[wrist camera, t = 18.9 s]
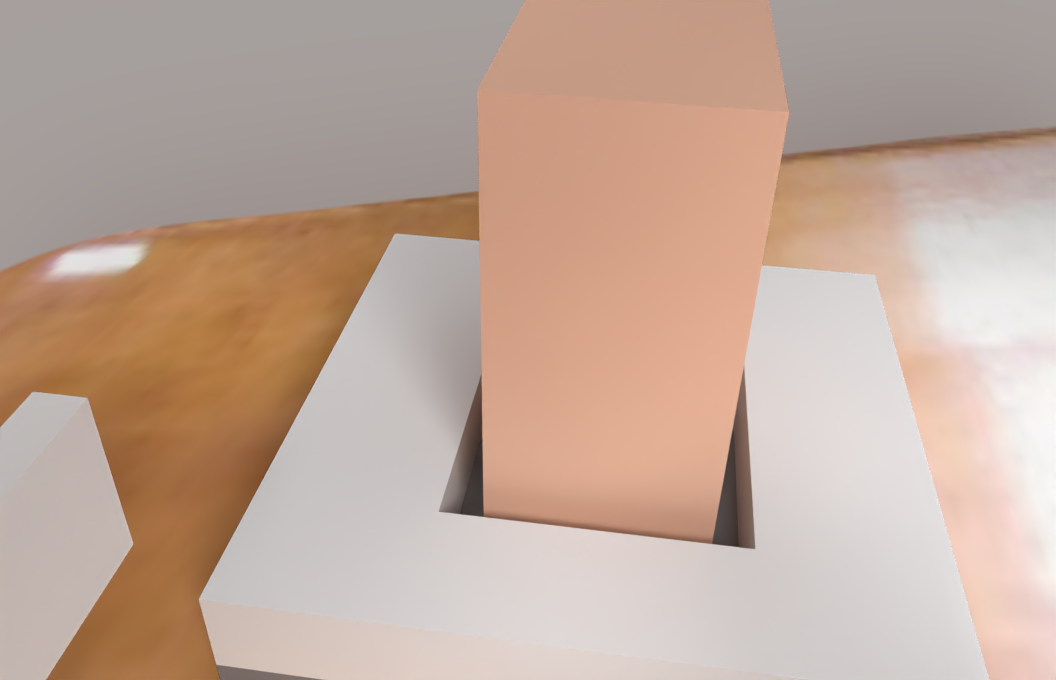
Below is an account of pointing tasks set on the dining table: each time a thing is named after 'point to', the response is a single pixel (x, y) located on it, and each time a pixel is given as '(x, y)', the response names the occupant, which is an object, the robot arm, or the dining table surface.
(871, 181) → the dining table surface
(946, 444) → the dining table surface
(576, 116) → the peach block
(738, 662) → the pocket plate
